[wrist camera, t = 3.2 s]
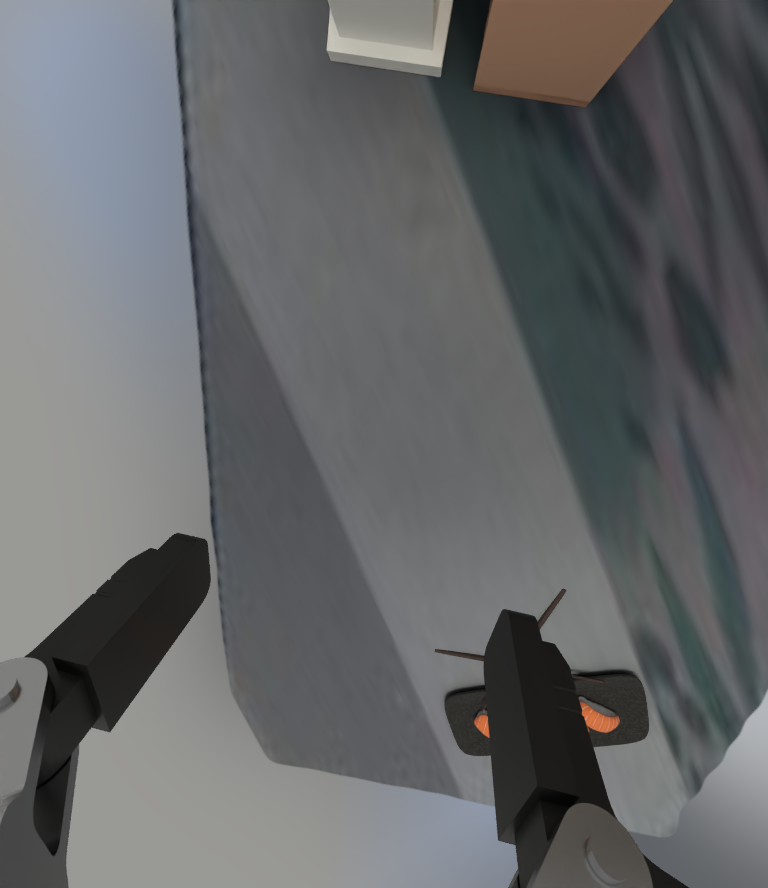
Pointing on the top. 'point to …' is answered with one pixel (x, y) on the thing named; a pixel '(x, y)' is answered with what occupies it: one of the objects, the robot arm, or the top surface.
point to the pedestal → (390, 34)
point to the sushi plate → (601, 697)
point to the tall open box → (559, 46)
